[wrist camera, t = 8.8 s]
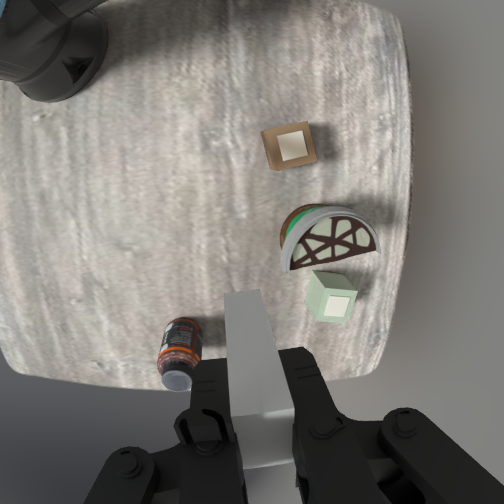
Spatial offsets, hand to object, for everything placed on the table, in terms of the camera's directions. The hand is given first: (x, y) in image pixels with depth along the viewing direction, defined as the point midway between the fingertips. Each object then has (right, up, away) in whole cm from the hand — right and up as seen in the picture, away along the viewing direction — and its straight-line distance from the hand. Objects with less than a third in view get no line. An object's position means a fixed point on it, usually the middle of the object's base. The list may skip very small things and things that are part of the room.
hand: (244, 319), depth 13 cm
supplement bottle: (-10, -10, +33) cm, 36 cm away
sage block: (+11, -3, +32) cm, 34 cm away
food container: (+8, +8, +29) cm, 31 cm away
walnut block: (+4, +17, +25) cm, 30 cm away
